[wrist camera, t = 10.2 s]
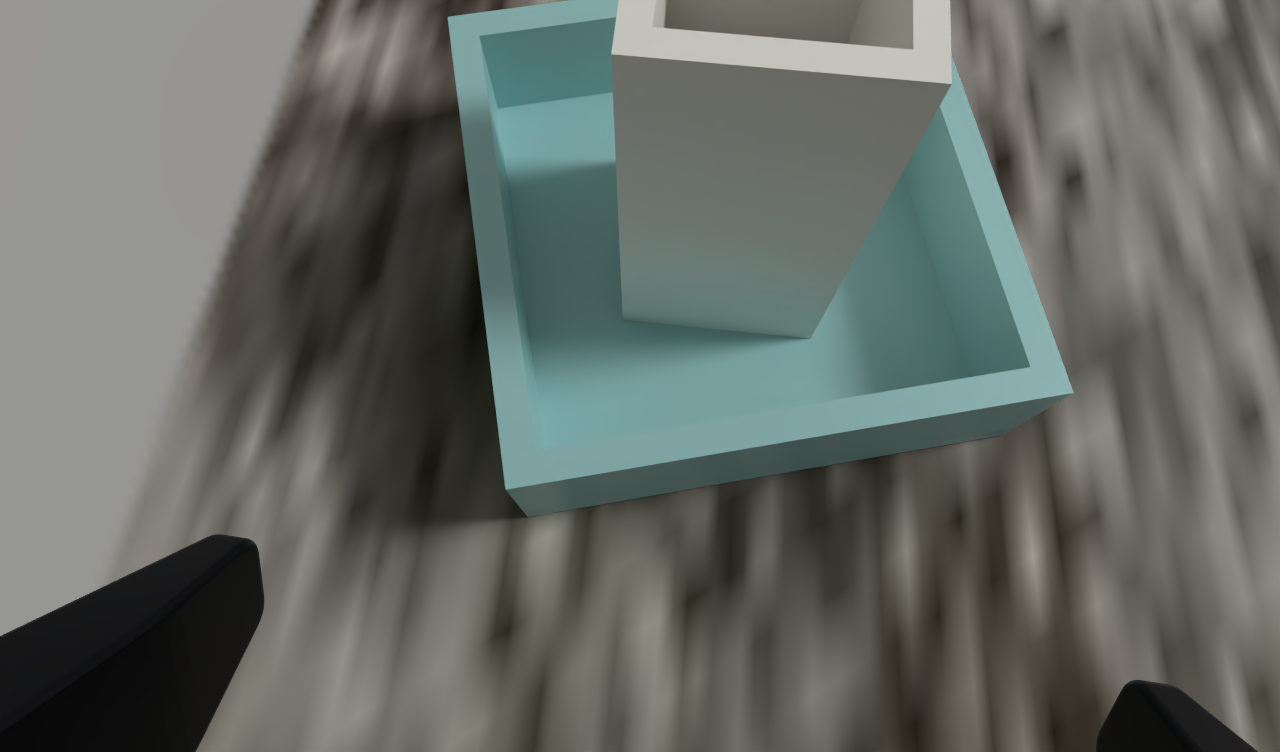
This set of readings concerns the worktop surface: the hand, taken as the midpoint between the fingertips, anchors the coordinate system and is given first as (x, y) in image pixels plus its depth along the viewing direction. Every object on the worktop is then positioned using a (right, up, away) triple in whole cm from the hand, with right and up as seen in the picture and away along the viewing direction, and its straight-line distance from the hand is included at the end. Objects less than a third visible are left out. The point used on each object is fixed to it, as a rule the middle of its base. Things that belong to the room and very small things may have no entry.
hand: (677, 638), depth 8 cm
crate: (+2, +6, +17) cm, 18 cm away
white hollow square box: (+2, +7, +16) cm, 17 cm away
